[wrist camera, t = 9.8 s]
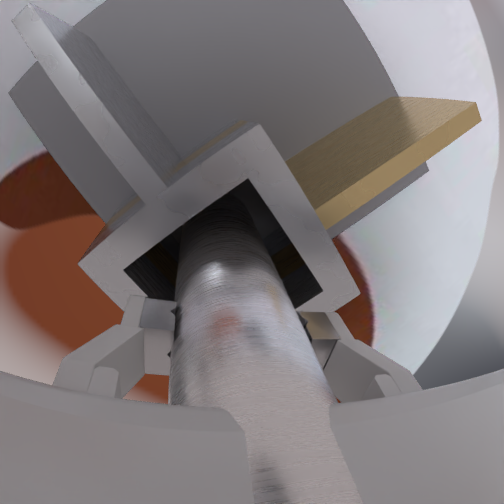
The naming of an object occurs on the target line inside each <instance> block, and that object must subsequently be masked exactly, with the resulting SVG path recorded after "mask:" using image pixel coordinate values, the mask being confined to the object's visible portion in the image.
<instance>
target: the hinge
mask: <svg viewBox="0 0 504 504" xmlns="http://www.w3.org/2000/svg"><path fill="white" fill-rule="evenodd" d="M12 22H13V24H14V26H15V27H16V29H17V30H18V32H19V33H20V35H21V36H22V38H23V40H24V41H25V43H26V44H27V46H28V47H29V49H30V50H31V52H32V53H33V55H34V56H35V58H36V59H37V60H38V62H39V63H40V65H41V66H42V68H43V69H44V71H45V72H46V74H47V75H48V76H49V78H50V79H51V81H52V82H53V84H54V85H55V86H56V88H57V89H58V91H59V92H60V93H61V95H62V96H63V98H64V99H65V100H66V102H67V103H68V105H69V106H70V107H71V109H72V110H73V111H74V113H75V114H76V115H77V117H78V118H79V120H80V121H81V122H82V124H83V125H84V126H85V128H86V129H87V130H88V132H89V133H90V134H91V136H92V137H93V138H94V140H95V141H96V142H97V143H98V145H99V146H100V147H101V149H102V150H103V151H104V153H105V154H106V155H107V156H108V158H109V159H110V160H111V162H112V163H113V164H114V165H115V167H116V168H117V169H118V171H119V172H120V173H121V174H122V176H123V177H124V178H125V179H126V181H127V182H128V183H129V184H130V186H131V187H132V188H133V189H134V191H135V192H136V193H135V194H133V195H132V196H131V197H130V198H128V199H127V200H126V201H125V202H124V203H123V204H121V205H120V206H119V208H118V209H117V210H116V212H115V213H114V214H113V215H112V217H111V218H110V219H109V221H108V222H107V223H106V225H105V226H104V227H103V229H102V230H101V231H100V233H99V234H98V236H97V237H96V238H95V240H94V241H93V243H92V244H91V245H90V247H89V248H88V249H87V251H86V252H85V254H84V255H83V257H82V258H81V260H80V261H79V262H78V265H79V266H80V267H81V268H82V269H83V271H84V272H85V273H86V274H87V275H88V276H89V277H90V278H91V279H92V280H93V281H94V282H95V283H96V284H97V285H98V286H99V287H100V288H101V289H102V290H103V291H104V292H105V293H106V294H107V295H108V296H109V297H110V298H111V299H112V300H113V301H114V302H115V303H116V304H117V305H118V306H119V307H120V308H121V309H122V310H123V311H125V308H126V304H127V301H128V298H129V296H130V295H138V296H145V297H153V298H160V299H167V300H175V290H176V280H177V270H178V261H179V252H180V244H179V243H178V242H177V240H176V239H175V238H174V237H173V236H172V234H171V233H172V232H173V231H174V230H176V229H177V228H178V227H180V226H181V225H183V224H184V223H185V222H187V221H188V220H189V219H191V218H192V217H193V216H195V215H196V214H198V213H199V212H200V211H202V210H203V209H205V208H206V207H207V206H209V205H210V204H212V203H213V202H214V201H216V200H217V199H219V198H220V197H222V196H223V195H224V194H226V193H227V192H229V191H230V190H232V189H233V188H235V187H236V186H237V185H239V184H240V183H242V182H243V181H245V180H246V179H249V180H250V182H251V183H252V185H253V186H254V187H255V189H256V190H257V192H258V193H259V195H260V196H261V198H262V199H263V201H264V202H265V203H266V205H267V206H268V208H269V209H270V211H271V212H272V214H273V215H274V217H275V218H276V220H277V221H278V223H279V224H280V226H281V227H279V228H278V229H276V230H275V231H273V232H272V233H270V234H269V235H267V236H266V237H264V238H263V239H262V240H263V242H264V245H265V247H266V249H267V251H268V253H269V255H270V257H271V259H272V261H273V264H274V266H275V268H276V270H277V272H278V274H279V276H280V278H281V281H282V283H283V285H284V287H285V289H286V291H287V293H288V295H289V298H290V300H291V302H292V304H293V306H294V308H295V310H296V311H304V312H334V311H336V310H337V309H339V308H340V307H342V306H343V305H345V304H346V303H348V302H349V301H351V300H352V299H354V298H355V297H357V296H358V295H359V294H361V293H360V291H359V289H358V287H357V286H356V284H355V282H354V280H353V278H352V276H351V274H350V272H349V271H348V269H347V267H346V265H345V263H344V261H343V260H342V258H341V256H340V254H339V252H338V251H337V249H336V247H335V245H334V243H333V242H332V240H331V238H330V236H329V235H328V233H327V231H326V230H327V229H328V228H330V227H331V226H333V225H334V224H336V223H337V222H339V221H340V220H342V219H343V218H345V217H346V216H348V215H349V214H350V213H352V212H353V211H355V210H356V209H358V208H359V207H361V206H362V205H364V204H365V203H366V202H368V201H369V200H371V199H372V198H374V197H375V196H377V195H378V194H379V193H381V192H382V191H384V190H385V189H387V188H388V187H390V186H391V185H392V184H394V183H395V182H397V181H398V180H400V179H401V178H402V177H404V176H405V175H407V174H408V173H410V172H411V171H412V170H414V169H415V168H417V167H418V166H419V165H421V164H422V163H424V162H425V161H427V160H428V159H429V158H431V157H432V156H434V155H435V154H436V153H438V152H439V151H441V150H442V149H443V148H445V147H446V146H448V145H449V144H450V143H452V142H453V141H454V140H456V139H457V138H459V137H460V136H461V135H463V134H464V133H465V132H467V131H468V130H470V129H471V128H472V127H474V126H475V125H476V124H478V123H479V122H481V121H482V120H481V117H480V114H479V111H478V107H477V104H476V102H469V101H459V100H449V99H436V98H419V97H390V98H388V99H386V100H384V101H383V102H381V103H379V104H377V105H376V106H374V107H372V108H371V109H369V110H367V111H366V112H364V113H362V114H361V115H359V116H357V117H356V118H354V119H352V120H351V121H349V122H347V123H346V124H344V125H342V126H341V127H339V128H337V129H336V130H334V131H333V132H331V133H329V134H328V135H326V136H324V137H323V138H321V139H320V140H318V141H317V142H315V143H313V144H312V145H310V146H309V147H307V148H305V149H304V150H302V151H301V152H299V153H298V154H296V155H295V156H293V157H291V158H290V159H288V160H287V161H285V162H284V160H283V158H282V157H281V155H280V154H279V152H278V151H277V149H276V148H275V146H274V145H273V143H272V141H271V140H270V138H269V137H268V135H267V134H266V132H265V131H264V129H263V128H262V126H261V125H260V124H258V123H253V122H248V121H243V120H237V119H235V120H233V121H232V122H230V123H229V124H227V125H226V126H224V127H223V128H221V129H220V130H218V131H217V132H216V133H214V134H213V135H211V136H210V137H208V138H207V139H205V140H204V141H203V142H201V143H200V144H198V145H197V146H196V147H194V148H193V149H191V150H190V151H189V152H187V153H186V154H185V155H183V156H182V157H181V156H180V155H179V154H178V152H177V151H176V150H175V148H174V147H173V146H172V144H171V143H170V142H169V140H168V139H167V138H166V136H165V135H164V134H163V132H162V131H161V130H160V128H159V127H158V126H157V124H156V123H155V122H154V120H153V119H152V118H151V117H150V115H149V114H148V113H147V111H146V110H145V109H144V107H143V106H142V105H141V103H140V102H139V101H138V99H137V98H136V97H135V95H134V94H133V93H132V91H131V90H130V89H129V87H128V86H127V85H126V84H125V82H124V81H123V80H122V78H121V77H120V76H119V74H118V73H117V72H116V70H115V69H114V68H113V66H112V65H111V64H110V62H109V61H108V60H107V58H106V57H105V56H104V54H103V53H102V52H101V51H100V49H99V48H98V47H97V45H96V44H95V43H94V41H93V40H92V39H91V37H89V36H87V35H86V34H84V33H82V32H81V31H79V30H77V29H76V28H74V27H72V26H71V25H69V24H67V23H66V22H64V21H62V20H60V19H59V18H57V17H55V16H53V15H51V14H50V13H48V12H46V11H44V10H42V9H41V8H39V7H37V6H35V5H33V4H31V3H29V4H28V5H27V6H26V7H25V8H24V9H23V10H22V11H21V12H20V13H19V14H18V15H17V16H16V17H15V18H14V19H13V20H12Z"/></svg>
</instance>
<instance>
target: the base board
mask: <svg viewBox="0 0 504 504" xmlns="http://www.w3.org/2000/svg"><path fill="white" fill-rule="evenodd" d="M74 28H76V29H77V30H79V31H81V32H82V33H84V34H86V35H87V36H89V37H91V39H92V40H93V41H94V43H95V44H96V45H97V47H98V48H99V49H100V51H101V52H102V53H103V54H104V56H105V57H106V58H107V60H108V61H109V62H110V64H111V65H112V66H113V68H114V69H115V70H116V72H117V73H118V74H119V76H120V77H121V78H122V80H123V81H124V82H125V84H126V85H127V86H128V87H129V89H130V90H131V91H132V93H133V94H134V95H135V97H136V98H137V99H138V101H139V102H140V103H141V105H142V106H143V107H144V109H145V110H146V111H147V113H148V114H149V115H150V117H151V118H152V119H153V120H154V122H155V123H156V124H157V126H158V127H159V128H160V130H161V131H162V132H163V134H164V135H165V136H166V138H167V139H168V140H169V142H170V143H171V144H172V146H173V147H174V148H175V150H176V151H177V152H178V154H179V155H180V156H181V157H182V156H183V155H185V154H186V153H187V152H189V151H190V150H191V149H193V148H194V147H196V146H197V145H198V144H200V143H201V142H203V141H204V140H205V139H207V138H208V137H210V136H211V135H213V134H214V133H216V132H217V131H218V130H220V129H221V128H223V127H224V126H226V125H227V124H229V123H230V122H232V121H233V120H235V119H237V120H243V121H248V122H253V123H258V124H260V125H261V126H262V128H263V129H264V131H265V132H266V134H267V135H268V137H269V138H270V140H271V141H272V143H273V145H274V146H275V148H276V149H277V151H278V152H279V154H280V155H281V157H282V158H283V160H284V162H285V161H287V160H288V159H290V158H291V157H293V156H295V155H296V154H298V153H299V152H301V151H302V150H304V149H305V148H307V147H309V146H310V145H312V144H313V143H315V142H317V141H318V140H320V139H321V138H323V137H324V136H326V135H328V134H329V133H331V132H333V131H334V130H336V129H337V128H339V127H341V126H342V125H344V124H346V123H347V122H349V121H351V120H352V119H354V118H356V117H357V116H359V115H361V114H362V113H364V112H366V111H367V110H369V109H371V108H372V107H374V106H376V105H377V104H379V103H381V102H383V101H384V100H386V99H388V98H390V97H399V96H398V94H397V92H396V90H395V88H394V86H393V84H392V82H391V80H390V78H389V76H388V74H387V72H386V70H385V68H384V66H383V65H382V63H381V61H380V59H379V57H378V55H377V54H376V52H375V50H374V48H373V47H372V45H371V43H370V42H369V40H368V38H367V37H366V35H365V33H364V32H363V30H362V28H361V27H360V25H359V24H358V22H357V20H356V19H355V17H354V16H353V14H352V13H351V11H350V10H349V8H348V7H347V5H346V4H345V2H344V1H343V0H106V1H105V2H104V3H102V4H101V5H100V6H98V7H97V8H96V9H95V10H93V11H92V12H91V13H89V14H88V15H87V16H86V17H84V18H83V19H82V20H81V21H80V22H78V23H77V24H76V25H75V26H74ZM9 95H10V96H11V98H12V99H13V101H14V102H15V104H16V105H17V107H18V109H19V110H20V112H21V113H22V114H23V116H24V117H25V119H26V120H27V122H28V123H29V125H30V126H31V128H32V129H33V131H34V132H35V133H36V135H37V136H38V138H39V139H40V140H41V142H42V143H43V145H44V146H45V147H46V149H47V150H48V151H49V153H50V154H51V156H52V157H53V158H54V160H55V161H56V162H57V164H58V165H59V166H60V167H61V169H62V170H63V171H64V173H65V174H66V175H67V177H68V178H69V179H70V180H71V182H72V183H73V184H74V186H75V187H76V188H77V189H78V191H79V192H80V193H81V194H82V196H83V197H84V198H85V199H86V201H87V202H88V203H89V204H90V205H91V207H92V208H93V209H94V210H95V212H96V213H97V214H98V215H99V216H100V217H101V219H102V220H103V221H104V222H105V223H107V222H108V221H109V219H110V218H111V217H112V215H113V214H114V213H115V212H116V210H117V209H118V208H119V206H120V205H121V204H123V203H124V202H125V201H126V200H127V199H128V198H130V197H131V196H132V195H133V194H135V193H136V192H135V191H134V189H133V188H132V187H131V186H130V184H129V183H128V182H127V181H126V179H125V178H124V177H123V176H122V174H121V173H120V172H119V171H118V169H117V168H116V167H115V165H114V164H113V163H112V162H111V160H110V159H109V158H108V156H107V155H106V154H105V153H104V151H103V150H102V149H101V147H100V146H99V145H98V143H97V142H96V141H95V140H94V138H93V137H92V136H91V134H90V133H89V132H88V130H87V129H86V128H85V126H84V125H83V124H82V122H81V121H80V120H79V118H78V117H77V115H76V114H75V113H74V111H73V110H72V109H71V107H70V106H69V105H68V103H67V102H66V100H65V99H64V98H63V96H62V95H61V93H60V92H59V91H58V89H57V88H56V86H55V85H54V84H53V82H52V81H51V79H50V78H49V76H48V75H47V74H46V72H45V71H44V69H43V68H42V66H41V65H40V63H39V62H38V61H37V62H36V63H35V64H34V65H33V66H32V67H31V68H30V69H29V70H28V71H27V72H26V73H25V74H24V76H23V77H22V78H21V79H20V80H19V81H18V82H17V84H16V85H15V86H14V87H13V88H12V89H11V91H10V92H9ZM428 171H429V170H428V167H427V164H426V161H425V162H424V163H422V164H421V165H419V166H418V167H417V168H415V169H414V170H412V171H411V172H410V173H408V174H407V175H405V176H404V177H402V178H401V179H400V180H398V181H397V182H395V183H394V184H392V185H391V186H390V187H388V188H387V189H385V190H384V191H382V192H381V193H379V194H378V195H377V196H375V197H374V198H372V199H371V200H369V201H368V202H366V203H365V204H364V205H362V206H361V207H359V208H358V209H356V210H355V211H353V212H352V213H350V214H349V215H348V216H346V217H345V218H343V219H342V220H340V221H339V222H337V223H336V224H334V225H333V226H331V227H330V228H328V229H327V230H326V231H327V233H328V235H329V236H330V238H331V239H333V238H334V237H336V236H337V235H338V234H340V233H341V232H343V231H344V230H346V229H347V228H349V227H350V226H352V225H353V224H355V223H356V222H357V221H359V220H360V219H362V218H363V217H365V216H366V215H368V214H369V213H370V212H372V211H373V210H375V209H376V208H378V207H379V206H380V205H382V204H383V203H385V202H386V201H388V200H389V199H390V198H392V197H393V196H395V195H396V194H397V193H399V192H400V191H402V190H403V189H404V188H406V187H407V186H409V185H410V184H411V183H413V182H414V181H416V180H417V179H418V178H420V177H421V176H423V175H424V174H425V173H427V172H428ZM226 194H230V195H232V196H234V197H236V198H238V199H239V200H240V201H241V202H243V204H244V205H245V206H246V208H247V209H248V211H249V213H250V215H251V217H252V219H253V222H254V224H255V226H256V228H257V230H258V232H259V234H260V236H261V238H262V239H263V238H264V237H266V236H267V235H269V234H270V233H272V232H273V231H275V230H276V229H278V228H279V227H281V226H280V224H279V223H278V221H277V220H276V218H275V217H274V215H273V214H272V212H271V211H270V209H269V208H268V206H267V205H266V203H265V202H264V201H263V199H262V198H261V196H260V195H259V193H258V192H257V190H256V189H255V187H254V186H253V185H252V183H251V182H250V180H249V179H246V180H245V181H243V182H242V183H240V184H239V185H237V186H236V187H235V188H233V189H232V190H230V191H229V192H227V193H226ZM182 228H183V225H181V226H180V227H178V228H177V229H176V230H174V231H173V232H172V233H171V234H172V236H173V237H174V238H175V239H176V240H177V242H178V243H179V244H181V236H182Z"/></svg>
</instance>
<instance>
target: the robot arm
mask: <svg viewBox="0 0 504 504" xmlns="http://www.w3.org/2000/svg"><path fill="white" fill-rule="evenodd" d="M176 302H177V301H175V300H167V299H160V298H153V297H145V296H138V295H130V296H129V298H128V301H127V304H126V308H125V311H124V314H123V318H122V321H121V325H117V324H116V325H114V326H113V327H111V328H109V329H108V330H106V331H105V332H103V333H102V334H100V335H98V336H97V337H95V338H94V339H93V340H91V341H89V342H87V343H86V344H84V345H83V346H81V347H80V348H78V349H76V350H75V351H73V352H72V353H70V354H69V355H67V356H65V357H64V358H63V359H62V362H61V364H60V367H59V369H58V372H57V375H56V377H55V380H54V382H53V385H48V384H44V383H40V382H37V381H33V380H29V379H25V378H22V377H19V376H15V375H12V374H8V373H5V372H2V371H0V504H255V503H254V496H253V489H252V482H251V475H250V468H249V461H248V454H247V446H246V439H245V431H244V430H243V429H242V428H241V427H240V425H239V424H238V423H237V422H236V420H235V419H234V418H233V417H232V415H231V414H230V413H229V412H228V411H227V410H225V409H223V408H218V407H200V406H184V405H172V404H160V403H151V402H142V401H135V400H127V399H122V398H123V397H124V396H125V395H126V394H127V393H128V392H129V391H130V390H131V388H132V387H133V386H134V385H135V384H136V383H137V382H138V381H139V380H140V379H141V378H142V377H143V376H144V373H146V374H158V375H169V373H170V355H171V349H172V346H173V342H174V328H175V314H176ZM296 313H297V315H298V317H299V319H300V321H301V323H302V326H303V328H304V330H305V332H306V334H307V336H308V338H309V341H310V343H311V345H312V347H313V349H314V351H315V354H316V356H317V358H318V360H319V362H320V365H321V367H322V369H323V371H324V373H325V376H326V378H327V380H328V382H329V384H330V387H331V389H332V391H333V393H334V395H335V397H337V398H338V399H339V400H340V401H341V402H342V403H335V404H331V405H330V407H329V418H330V427H331V430H332V432H333V434H334V437H335V439H336V441H337V443H338V446H339V448H340V450H341V453H342V455H343V457H344V460H345V462H346V464H347V466H348V469H349V471H350V473H351V476H352V478H353V480H354V483H355V485H356V487H357V490H358V492H359V494H360V496H361V499H362V501H363V503H364V504H504V369H501V370H499V371H495V372H492V373H489V374H486V375H482V376H479V377H475V378H472V379H468V380H464V381H461V382H457V383H453V384H449V385H445V386H440V387H436V388H431V389H427V390H422V388H421V387H420V385H419V384H418V382H417V381H416V379H415V378H414V377H413V375H412V374H411V372H410V371H409V370H408V369H406V368H404V367H403V366H401V365H399V364H398V363H396V362H394V361H393V360H391V359H389V358H388V357H386V356H384V355H383V354H381V353H379V352H378V351H376V350H375V349H373V348H371V347H370V346H368V345H366V344H365V343H363V342H361V341H360V340H355V339H354V338H353V336H352V335H351V333H350V331H349V330H348V328H347V327H346V325H345V324H344V322H343V320H342V319H341V317H340V316H339V314H338V313H336V312H304V311H296Z"/></svg>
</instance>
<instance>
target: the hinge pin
mask: <svg viewBox="0 0 504 504" xmlns="http://www.w3.org/2000/svg"><path fill="white" fill-rule="evenodd" d="M175 301H177V302H176V314H175V328H174V342H173V346H172V349H171V355H170V373H169V399H168V404H172V405H184V406H200V407H218V408H223V409H225V410H227V411H228V412H229V413H230V414H231V415H232V417H233V418H234V419H235V420H236V422H237V423H238V424H239V425H240V427H241V428H242V429H243V430H244V431H245V439H246V446H247V454H248V461H249V468H250V475H251V482H252V489H253V496H254V503H255V504H364V503H363V501H362V499H361V496H360V494H359V492H358V490H357V487H356V485H355V483H354V480H353V478H352V476H351V473H350V471H349V469H348V466H347V464H346V462H345V460H344V457H343V455H342V453H341V450H340V448H339V446H338V443H337V441H336V439H335V437H334V434H333V432H332V430H331V427H330V418H329V407H330V405H331V404H335V403H338V402H337V400H336V398H335V395H334V393H333V391H332V389H331V387H330V384H329V382H328V380H327V378H326V376H325V373H324V371H323V369H322V367H321V365H320V362H319V360H318V358H317V356H316V354H315V351H314V349H313V347H312V345H311V343H310V341H309V338H308V336H307V334H306V332H305V330H304V328H303V326H302V323H301V321H300V319H299V317H298V315H297V313H296V310H295V308H294V306H293V304H292V302H291V300H290V298H289V295H288V293H287V291H286V289H285V287H284V285H283V283H282V281H281V278H280V276H279V274H278V272H277V270H276V268H275V266H274V264H273V261H272V259H271V257H270V255H269V253H268V251H267V249H266V247H265V245H264V242H263V240H262V238H261V236H260V234H259V232H258V230H257V228H256V226H255V224H254V222H253V219H252V217H251V215H250V213H249V211H248V209H247V208H246V206H245V205H244V204H243V202H241V201H240V200H239V199H238V198H236V197H234V196H232V195H230V194H224V195H223V196H222V197H220V198H219V199H217V200H216V201H214V202H213V203H212V204H210V205H209V206H207V207H206V208H205V209H203V210H202V211H200V212H199V213H198V214H196V215H195V216H193V217H192V218H191V219H189V220H188V221H187V222H185V223H184V224H183V228H182V236H181V244H180V252H179V261H178V270H177V280H176V290H175Z"/></svg>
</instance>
